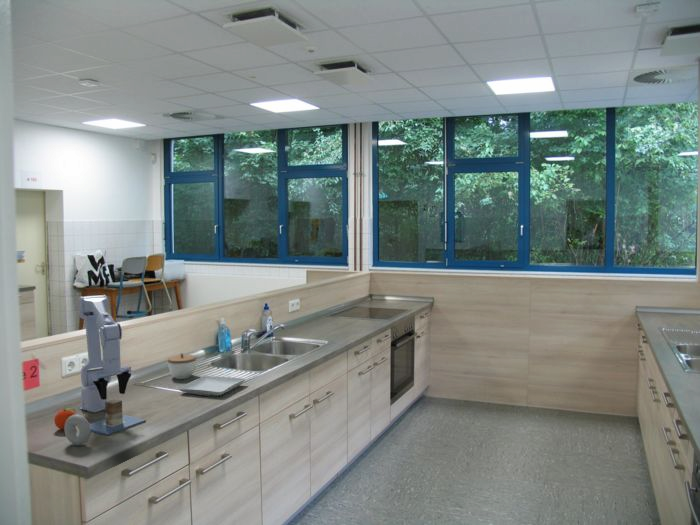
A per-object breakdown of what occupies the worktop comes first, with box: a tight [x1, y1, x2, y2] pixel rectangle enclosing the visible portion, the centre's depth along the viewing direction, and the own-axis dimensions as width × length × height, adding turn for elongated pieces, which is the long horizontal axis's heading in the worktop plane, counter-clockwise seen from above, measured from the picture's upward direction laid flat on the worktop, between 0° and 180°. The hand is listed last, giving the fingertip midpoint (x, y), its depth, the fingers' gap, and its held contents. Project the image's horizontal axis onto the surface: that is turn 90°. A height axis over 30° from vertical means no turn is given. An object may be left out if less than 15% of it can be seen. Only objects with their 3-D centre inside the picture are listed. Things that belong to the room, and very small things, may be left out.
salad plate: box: [177, 375, 246, 397], centre depth 248 cm, size 21×21×3 cm
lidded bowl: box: [167, 353, 197, 380], centre depth 270 cm, size 13×13×11 cm
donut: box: [64, 413, 92, 446], centre depth 186 cm, size 10×4×10 cm, turn 67°
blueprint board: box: [89, 413, 147, 437], centre depth 205 cm, size 14×16×1 cm
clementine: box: [54, 407, 77, 430], centre depth 202 cm, size 8×7×7 cm
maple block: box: [104, 411, 124, 426], centre depth 205 cm, size 4×4×4 cm
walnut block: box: [104, 398, 123, 415], centre depth 204 cm, size 4×4×4 cm
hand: (113, 396), depth 204 cm, fingers open, 7 cm apart
